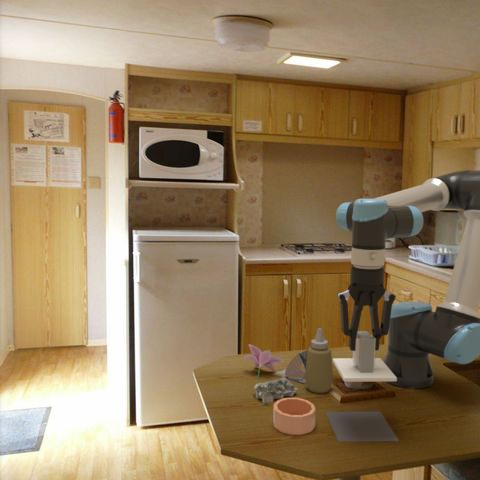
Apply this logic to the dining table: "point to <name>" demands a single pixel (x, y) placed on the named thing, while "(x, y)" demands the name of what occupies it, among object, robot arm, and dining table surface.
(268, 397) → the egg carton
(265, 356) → the lily
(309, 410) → the bowl
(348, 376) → the cover sheet
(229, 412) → the dining table surface
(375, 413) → the rubber mat
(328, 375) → the squeeze bottle
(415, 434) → the dining table surface
